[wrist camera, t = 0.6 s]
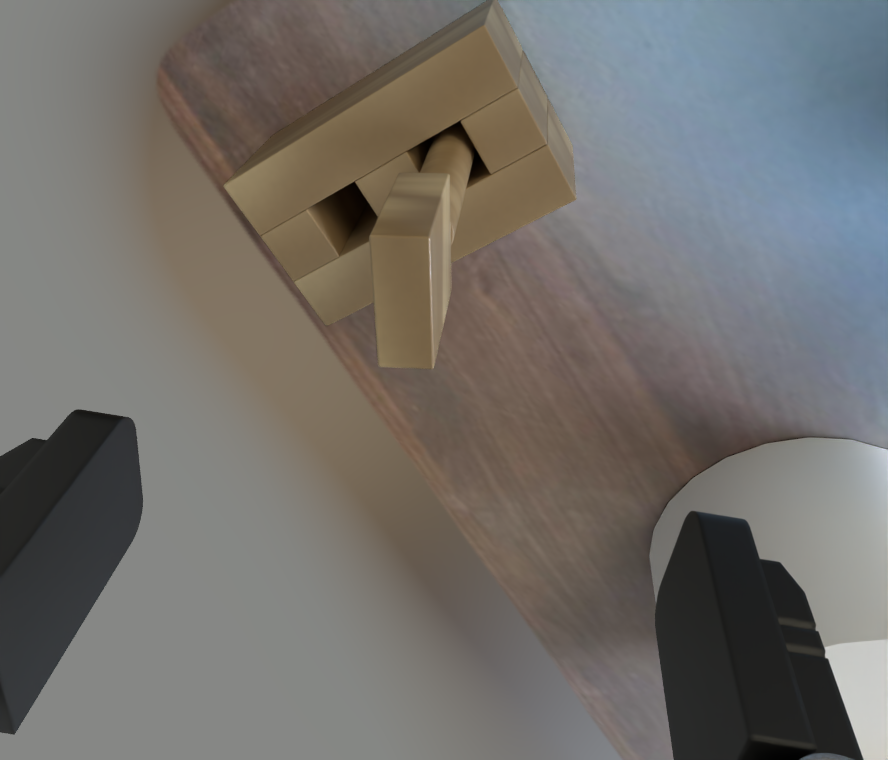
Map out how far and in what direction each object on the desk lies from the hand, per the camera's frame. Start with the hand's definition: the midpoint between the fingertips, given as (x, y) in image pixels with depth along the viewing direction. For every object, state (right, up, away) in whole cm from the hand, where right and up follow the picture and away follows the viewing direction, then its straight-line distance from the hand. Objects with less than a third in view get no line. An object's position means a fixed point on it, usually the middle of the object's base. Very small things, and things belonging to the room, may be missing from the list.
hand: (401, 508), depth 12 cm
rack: (-1, +13, +27) cm, 30 cm away
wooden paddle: (+1, +14, +26) cm, 30 cm away
